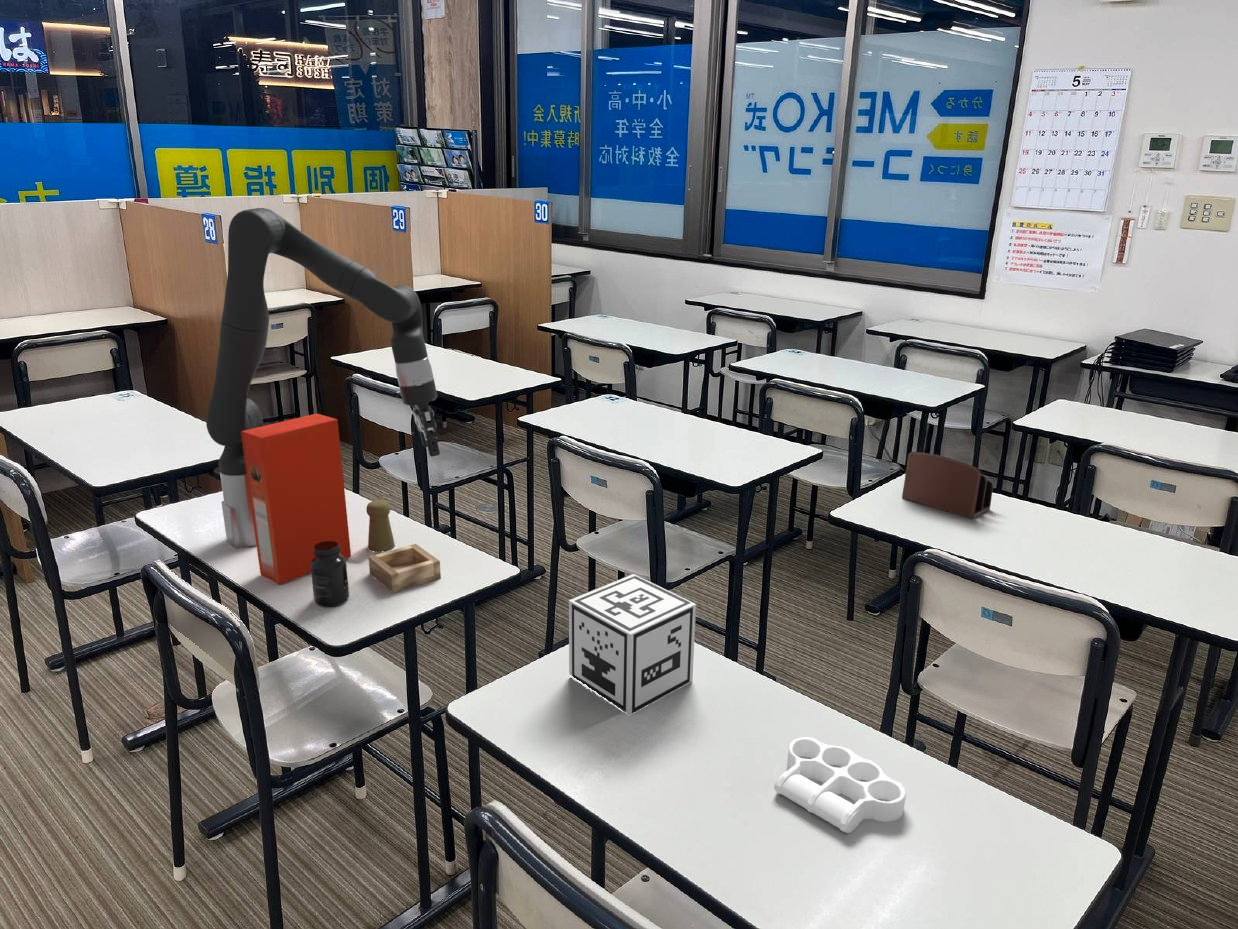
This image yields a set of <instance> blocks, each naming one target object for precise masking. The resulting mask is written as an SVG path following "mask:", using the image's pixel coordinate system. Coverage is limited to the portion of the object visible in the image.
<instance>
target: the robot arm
mask: <svg viewBox="0 0 1238 929" xmlns="http://www.w3.org/2000/svg"><path fill="white" fill-rule="evenodd" d="M227 232H228V234H227V235H228V236H227V237H228V238H227V240H228V241H227V279H226V283H225V284H226V285H225V291H224V292H225V293H224V301H223V308H222V309H223V310H222V315H221V322H220V329H219V341H218V342H219V343H218V351H217V358H216V359H217V360H216V367H215V368H216V369H215V379H214V383H213V388H212V392H211V393H212V394H211V397H210V401H209V405H208V409H207V412H206V413H207V414H206V420H205V422H206V423H205V424H206V429H207V433H208V434H209V436H210V438H211V439H212V440H213V441H214V442H215V443H216V444H218V445H220V446H223V447H224V448H223V451H222V453H221V454H220V457H219V460H218V470H219V475H220V482H221V489H222V490H221V491H222V496H223V500H222V501H221V508H222V516H223V523H224V528H225V529H224V530H225V538H226V541H227V542H229V543H230V545H231V546H232V547H233V548H235V549H236V548H239V547H240V548H241V547H254V546H257V545H256V538H255V531H254V523H253V516H252V509H251V501H250V494H249V487H248V479H247V472H246V465H245V457H244V450H243V443H242V435H241V431H245V430H249V429H253V428H257V427H262V426H264V420H263V415H262V411H261V410H260V408H259V406H258V404H257V403H256V402H254V401H253V400H252V399H251V398H248V395H249V390H250V387H251V383H252V380H253V378H255V374H256V372H257V370H258V368H259V367H260V363H261V361H262V358H263V357H264V354H265V352H266V347H267V340H268V333H269V325H270V314H269V308H268V303H267V298H266V295H265V288H264V284H265V283H264V279H265V274H266V273H265V272H266V267H267V263H268V259H269V255H270V254H274V255H277V256H279V257H283V258H286V259H288V260H291V261H292V262H294V263H297V264H298V265H301V267H303V268H305V269H306V270H308V271H309V272H310V274H313V275H314V276H315V277H317V279H318V280H320V281H321V282H322V283H324V284H325V285H326V286H328V287H329V288H331V289H332V290H335V291H337V292H339V293H341V294H342V295H344V296H345V297H348V298H350V299H351V300H354V301H356V302H359V303H360V304H361V305H363V306H364V308H366V309H367V310H369V311H370V312H371V313H373V314H375V315H376V316H377V317H379V318H381V319H382V320H385V321H387V322H389V323H391V325H392V326H391V327H392V336H391V339H390V347H391V350H392V354H393V359H394V366H395V374H396V378H397V382H398V388H399V391H400V396H401V400H402V403H403V404H404V405H405V406H411V407H412V409H413V410H412V414H413V417H414V422H415V425H416V427H417V430H418V432H419V434H420V439H421V444H422V446H423V447H424V448H427V450H428V454H429V457H432V458H433V457H436V456H440V454H441V452H440V446H439V443H438V438H439V433H438V430H437V423H436V420H435V412H434V409H433V408H432V406H430V405H429V403H430V402H433V401H435V400H436V399H437V398H438V393H437V388H436V387H437V386H436V383H435V377H434V374H433V369H432V368H433V367H432V365H431V363H430V360H429V357H428V355H429V354H428V352H427V347H426V342H425V339H424V332H423V331H424V329H423V328H424V327H423V326H424V325H423V313H422V304H421V300H420V298H419V296H418V294H417V292H416V291H415V290H414V289H413V288H412V287H410V286H408V285H403V284H400V285H395V286H394V287H393V286H392V285H391V286H390V285H389V284H388V283H386V282H383V281H382V280H380V279H379V278H378V275H377V274H376V273H375V272H374V271H372V270H371V269H369V268H367V267H365V266H363V265H361V264H359V263H358V262H355V261H353V260H352V259H349V258H348V257H346V256H344V255H341V254H339V253H338V252H336V251H334V250H332V249H330V248H328V247H327V246H325V245H323V244H322V243H320V242H318V241H317V240H316V239H313V238H312V237H310V236H309V235H308V234H306V233H305V232H303V231H302V230H300V229H298V227H296V226H295V225H293V224H292V223H291V222H290V221H288V220H286V219H285V218H284V217H282V216H281V215H279V214H278V213H277V212H276V211H273V210H272V209H269V208H266V207H257V208H249V209H245V210H241V211H239V212H237V213H236V214H235V215H234V216H233V218H232V219H231V220H230V223H229V226H228V231H227ZM431 431H432V432H431Z"/></svg>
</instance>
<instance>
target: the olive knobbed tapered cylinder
mask: <svg viewBox="0 0 1238 929" xmlns="http://www.w3.org/2000/svg"><path fill="white" fill-rule="evenodd" d="M365 510H366V514H367V516H368V517H369V518H368V519H369V520H368V521H369V523H368V538H367V539H368V540H367V550H369V551H370V552H372V551H374V553H383V552H382V551H385V552H387V551H391V550H394V548H395V547H396V545H395V543H396V542H395V539H394V536H393V531H392V530H393V529H392V526H391V521H390V517H389V514H390V513H391V506H390V503H389V502H388V501H387V500H385V499H375V500H372V501H369V502H368V504H367V505H366V509H365Z"/></svg>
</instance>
